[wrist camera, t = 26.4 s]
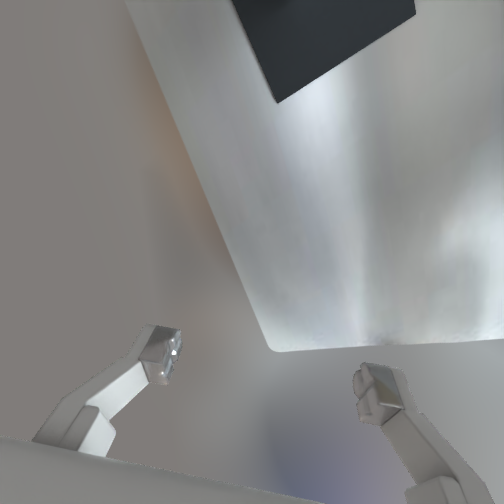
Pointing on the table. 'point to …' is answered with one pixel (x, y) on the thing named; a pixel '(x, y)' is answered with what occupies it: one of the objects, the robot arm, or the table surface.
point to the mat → (314, 35)
